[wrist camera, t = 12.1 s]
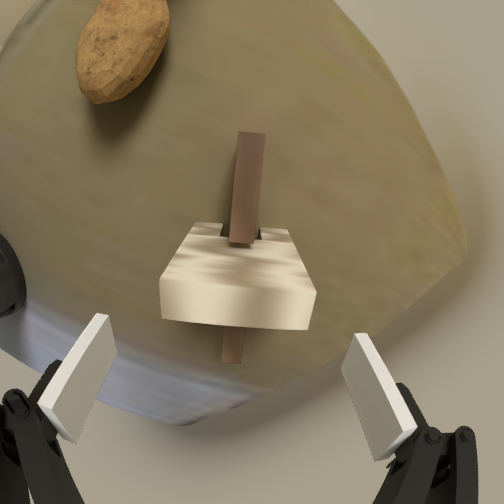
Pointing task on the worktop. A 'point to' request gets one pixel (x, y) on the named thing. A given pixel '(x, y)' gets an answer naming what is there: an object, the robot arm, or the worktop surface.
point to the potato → (120, 47)
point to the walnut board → (243, 219)
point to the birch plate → (237, 281)
